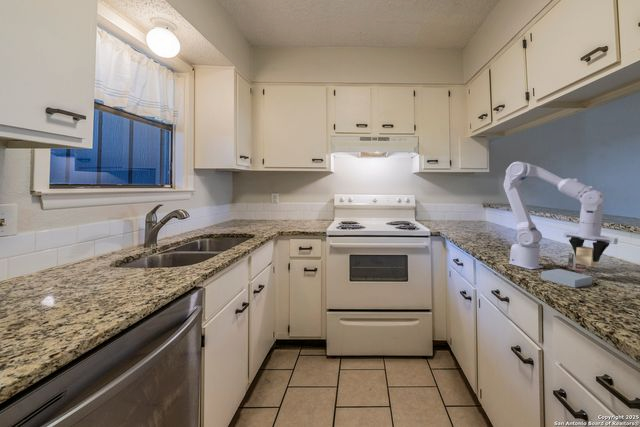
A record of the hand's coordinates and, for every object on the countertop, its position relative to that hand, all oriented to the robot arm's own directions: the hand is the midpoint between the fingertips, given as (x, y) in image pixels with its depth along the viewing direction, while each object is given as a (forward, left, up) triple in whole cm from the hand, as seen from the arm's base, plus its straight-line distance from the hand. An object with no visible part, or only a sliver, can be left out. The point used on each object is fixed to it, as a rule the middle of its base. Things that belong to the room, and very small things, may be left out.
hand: (586, 259), depth 100 cm
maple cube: (0, 0, -2) cm, 2 cm away
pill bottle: (-7, +9, -7) cm, 13 cm away
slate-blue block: (0, -12, -7) cm, 14 cm away
